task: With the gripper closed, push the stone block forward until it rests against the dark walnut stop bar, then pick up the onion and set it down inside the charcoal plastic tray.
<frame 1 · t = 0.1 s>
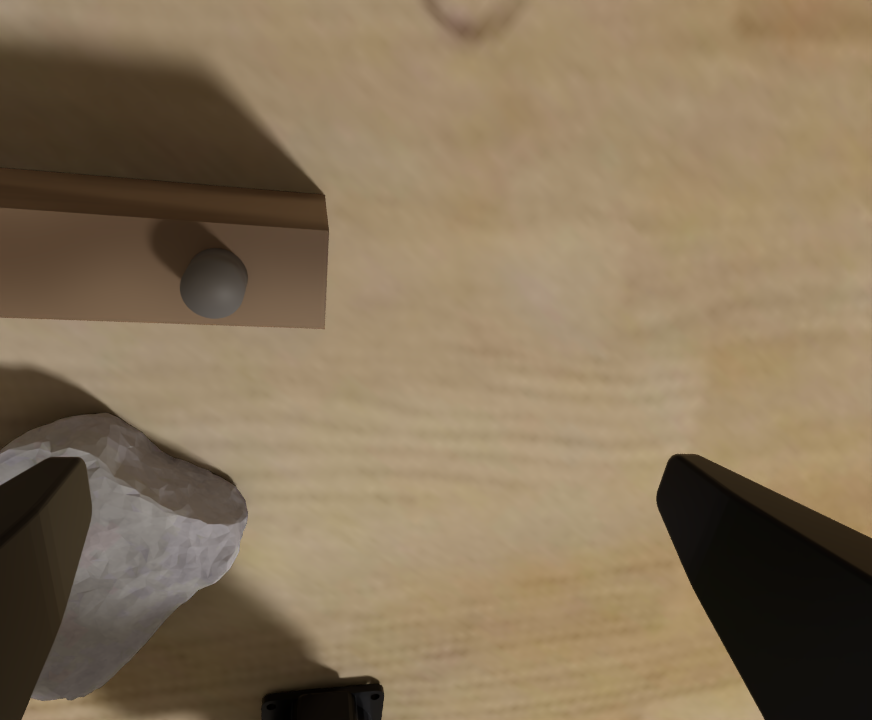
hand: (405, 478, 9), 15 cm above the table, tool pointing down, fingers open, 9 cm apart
stone block: (77, 517, 26), on the table
stop bar: (47, 217, 20), on the table
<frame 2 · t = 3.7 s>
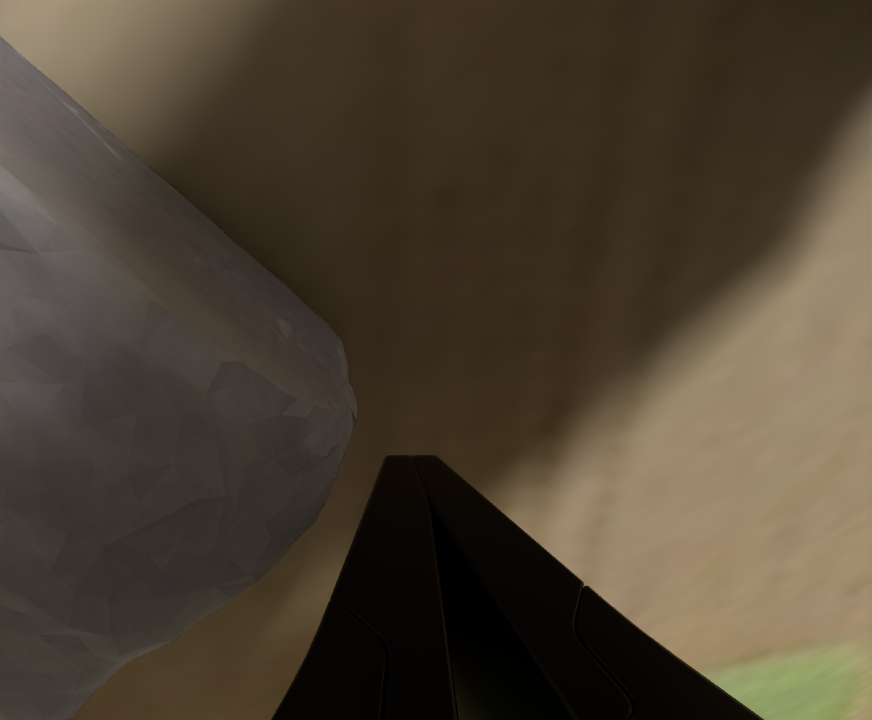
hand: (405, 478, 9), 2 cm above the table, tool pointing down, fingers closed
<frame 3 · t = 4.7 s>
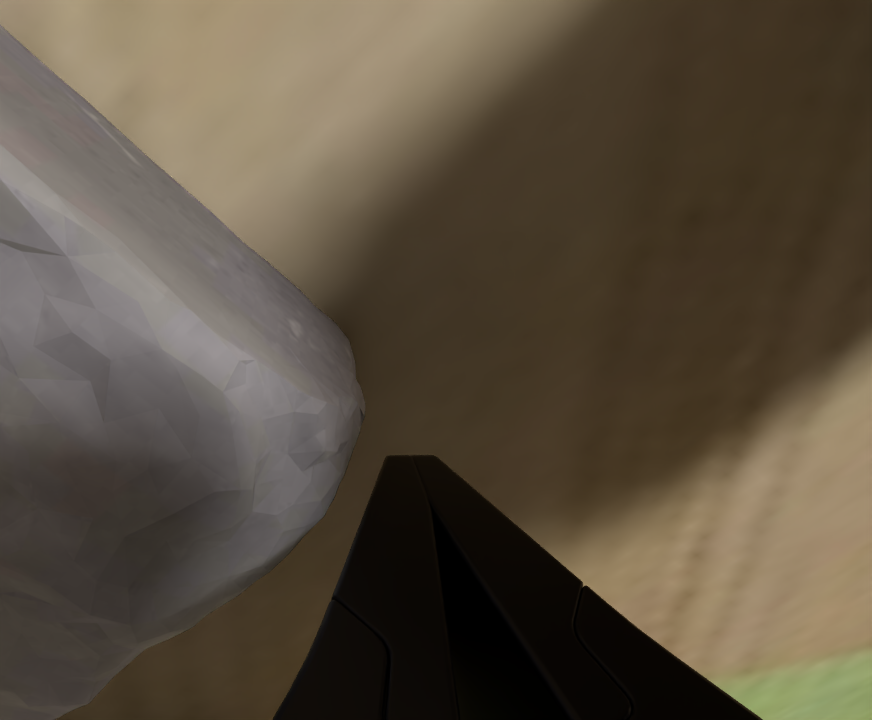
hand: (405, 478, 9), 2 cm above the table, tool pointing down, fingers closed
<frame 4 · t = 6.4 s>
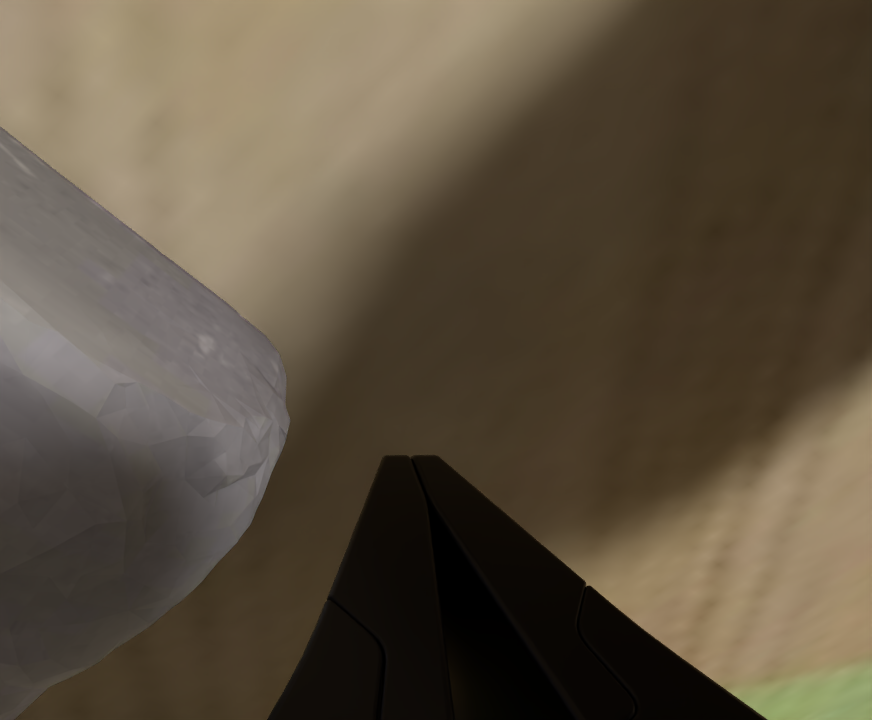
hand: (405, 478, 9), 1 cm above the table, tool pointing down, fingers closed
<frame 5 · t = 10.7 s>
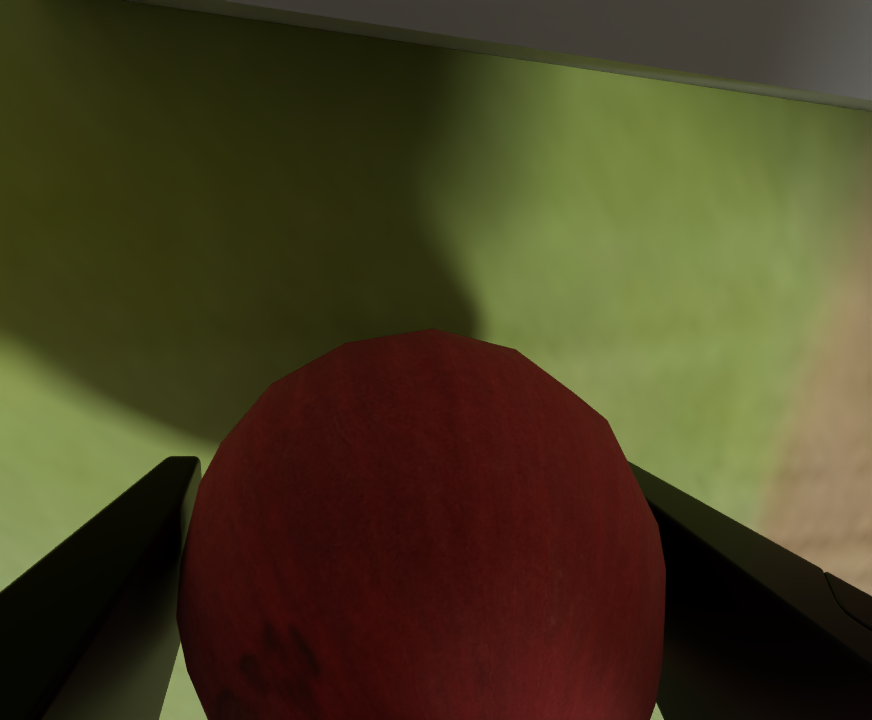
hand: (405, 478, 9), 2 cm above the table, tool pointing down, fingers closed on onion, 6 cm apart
onion: (387, 405, 11), on the table, touching gripper
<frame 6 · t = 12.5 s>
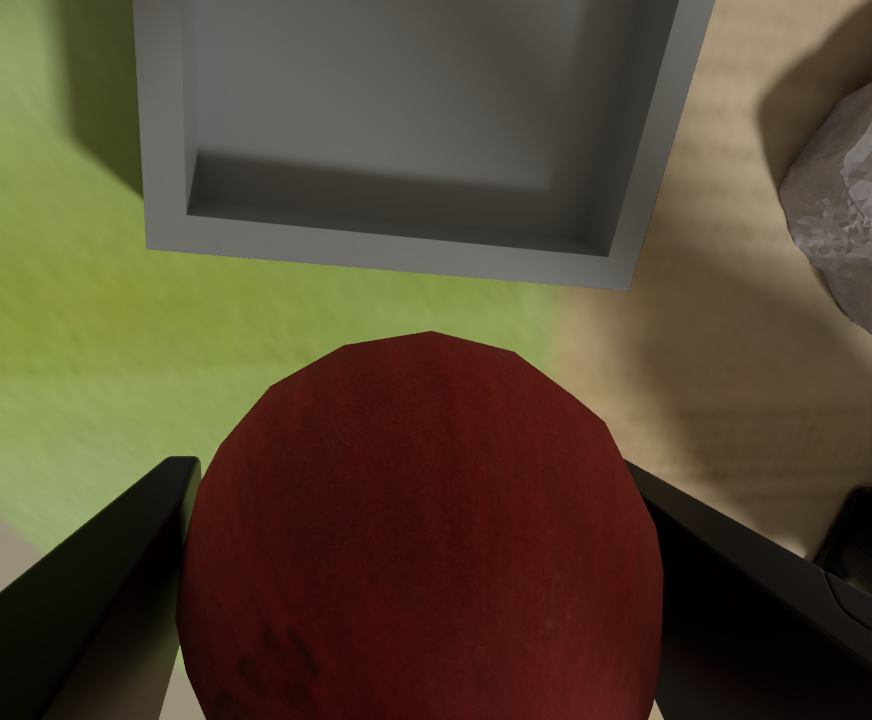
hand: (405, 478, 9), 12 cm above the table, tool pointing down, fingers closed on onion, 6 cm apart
tray: (426, 1, 17), on the table
onion: (386, 406, 11), point 10 cm above the table, touching gripper
when the fingers open (5 cm above the table, at t = 14.7 s): onion drops 2 cm, resting on tray.
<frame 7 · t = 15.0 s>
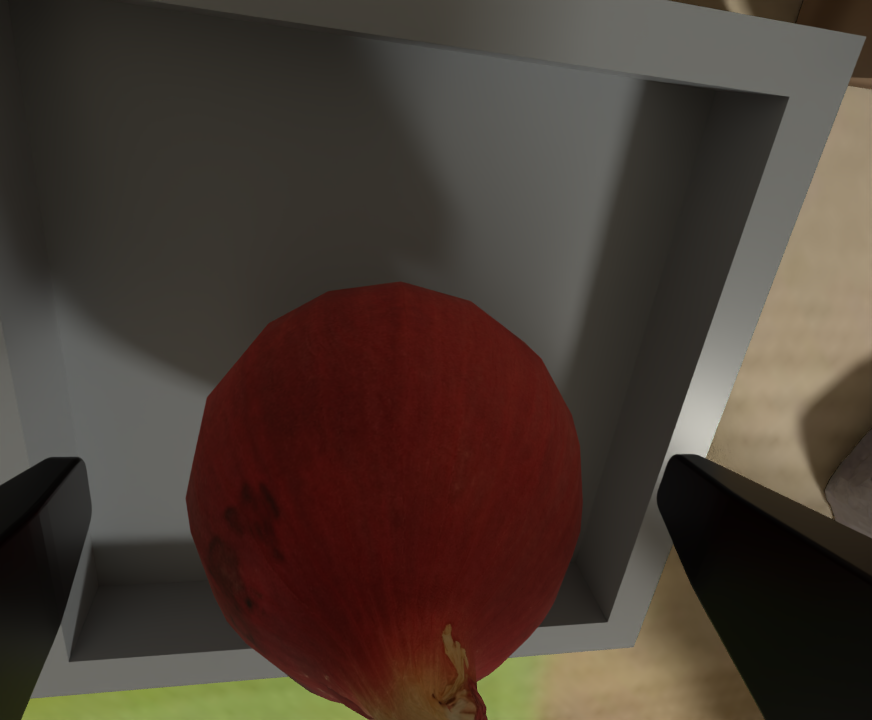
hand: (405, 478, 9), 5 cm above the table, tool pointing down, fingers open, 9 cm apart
tray: (373, 342, 14), on the table
onion: (381, 362, 13), point 1 cm above the table, touching tray
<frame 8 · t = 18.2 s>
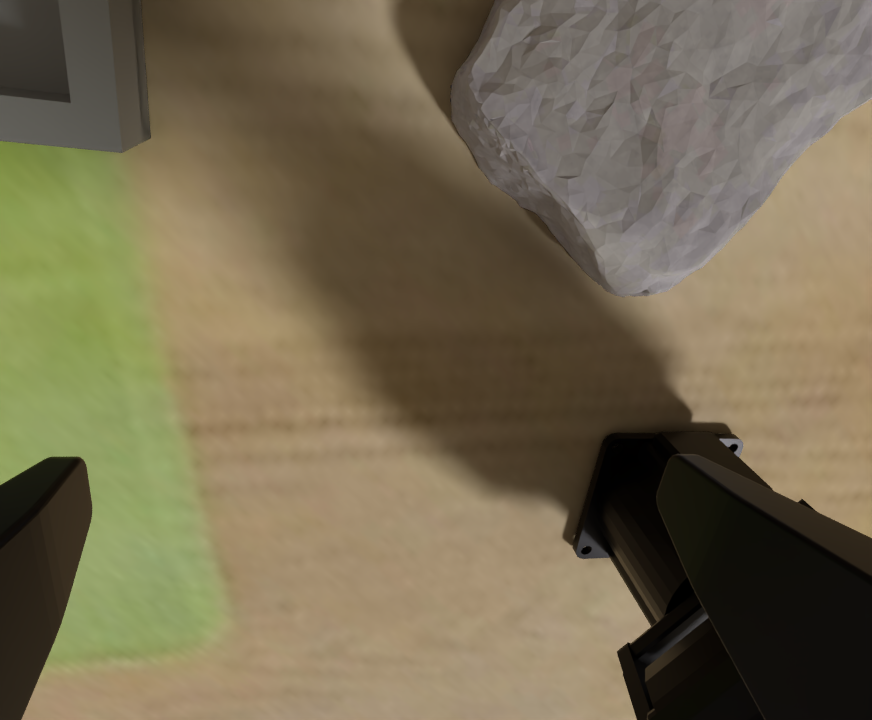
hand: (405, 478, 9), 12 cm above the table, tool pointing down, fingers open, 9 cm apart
stone block: (635, 59, 19), on the table
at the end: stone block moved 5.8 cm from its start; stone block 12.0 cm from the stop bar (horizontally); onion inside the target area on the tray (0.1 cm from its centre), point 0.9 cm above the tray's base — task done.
